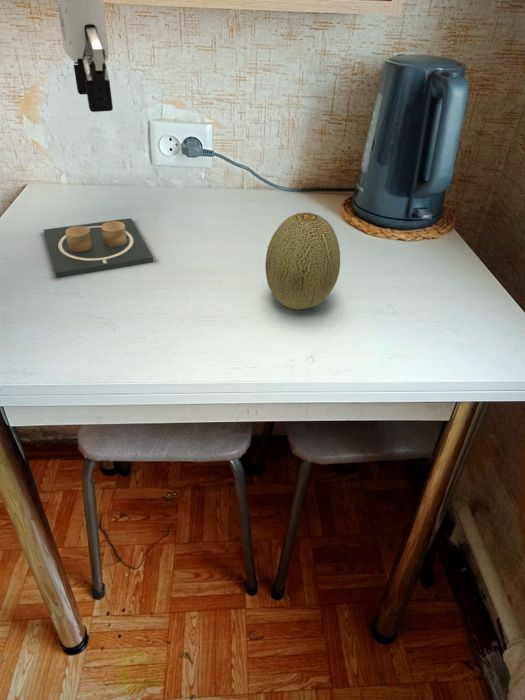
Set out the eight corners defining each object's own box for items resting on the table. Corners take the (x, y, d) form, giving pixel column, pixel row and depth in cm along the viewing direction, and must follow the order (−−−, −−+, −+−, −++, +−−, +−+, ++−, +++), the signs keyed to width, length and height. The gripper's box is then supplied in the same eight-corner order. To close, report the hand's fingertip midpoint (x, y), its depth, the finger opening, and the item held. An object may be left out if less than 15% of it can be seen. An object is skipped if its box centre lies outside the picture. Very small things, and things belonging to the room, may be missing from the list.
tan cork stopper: (106, 248, 89) (103, 232, 87) (101, 238, 91) (99, 222, 90) (129, 244, 90) (127, 229, 88) (123, 235, 93) (122, 219, 91)
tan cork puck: (70, 253, 87) (67, 237, 85) (66, 243, 89) (63, 227, 87) (94, 250, 88) (91, 234, 86) (90, 239, 91) (87, 224, 89)
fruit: (328, 330, 76) (344, 239, 66) (255, 317, 77) (261, 226, 68) (336, 290, 85) (351, 204, 75) (270, 279, 86) (277, 194, 77)
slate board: (56, 277, 83) (55, 271, 82) (44, 234, 94) (43, 228, 93) (153, 261, 88) (152, 255, 88) (131, 222, 99) (130, 217, 99)
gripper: (35, -48, 70) (60, 88, 81) (52, -39, 58) (78, 120, 69) (92, -46, 72) (108, 86, 83) (119, -36, 61) (133, 116, 71)
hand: (94, 101), depth 76 cm, fingers open, 9 cm apart
